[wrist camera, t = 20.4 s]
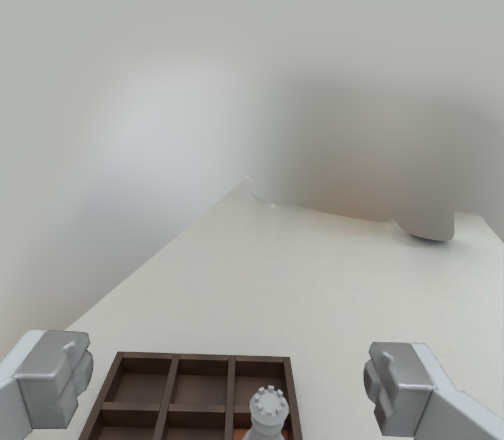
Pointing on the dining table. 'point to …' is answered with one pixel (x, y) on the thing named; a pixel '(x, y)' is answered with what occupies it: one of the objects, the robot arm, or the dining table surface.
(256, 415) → the rook chess piece
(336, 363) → the dining table surface
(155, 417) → the grid
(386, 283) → the dining table surface
